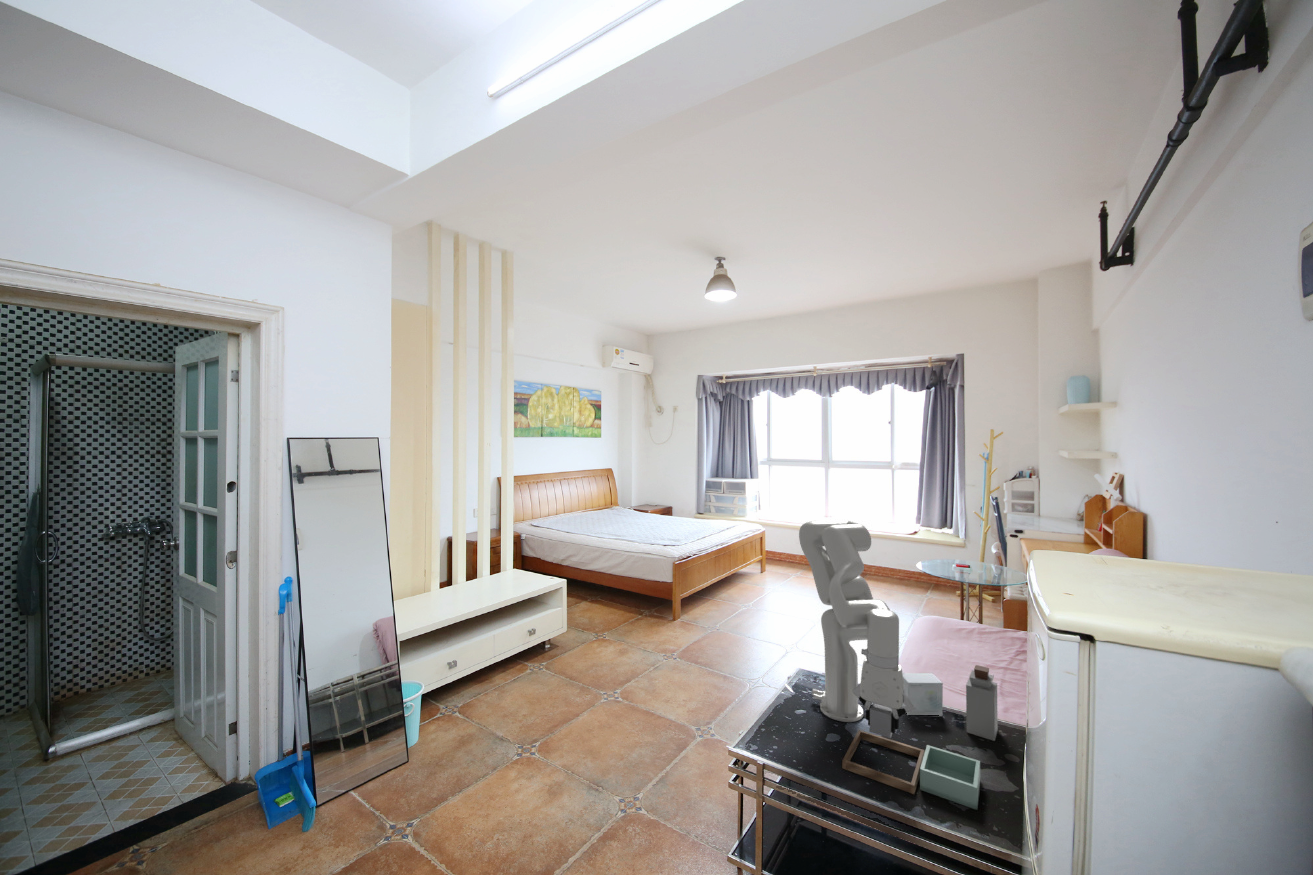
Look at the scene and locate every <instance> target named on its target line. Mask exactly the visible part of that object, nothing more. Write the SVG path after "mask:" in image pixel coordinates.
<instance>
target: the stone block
mask: <svg viewBox="0 0 1313 875" xmlns="http://www.w3.org/2000/svg"><path fill="white" fill-rule="evenodd" d="M892 716H893V713H892V709H891V708H889V707H885V706H882V705H879V704H875V703H872V706H871V708H870V726H869V733H872V734H875V735H878V736H881V737H884V738H887V739H891V738H892V735H893V733H892V732H891V721H892Z"/></svg>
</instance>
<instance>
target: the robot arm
mask: <svg viewBox="0 0 1313 875" xmlns="http://www.w3.org/2000/svg"><path fill="white" fill-rule="evenodd" d="M798 538H799V539H798V540H799V545H800V548H801V550H802V553H803V555H804V556H805V558H806V560H807V562H808V564H809V566H810V569H811V573H812V577H813V580H814V583H815V587H816V590H817V594H818V598H819V600H820V601H821V603H822V604H823V605H826V606H831V607H832V608H829V609H827V610H825V611H824V612H823V613H822V615H821V619H820V623H821V630H822V635H823V642H824V690H819V689H818V688H817V689H816V688H812V690H811V694H812V696H813V700H817V701H820V704H819V707H820V711H821V712H822V714H824V715H825V716H826V717H827V718H830V719H832V720H835V721H839V722H842V723H853V722H858V721H860V720H861V719H862V718H863V717H864V710H865V720H866V721H867V725H868V726H869V727H870V708H871V706H872V704H873V703H875V704H879V705H882V706H885V707H889V708H891V709H892V713H893V716H892V721H891V732H892V734H895V732H896V731H897V730H899V727H900V717H903V716H904V715H906V713H908V712H910V711H912V710H913V708H914V706H913V704H912V703H911V702H910V700H909V699H908V697H907V696H906V695H905V693H904V680H903V673H904V672H903V669H902V665H901V664H899V663H900V662H899V661H900V660H899V658H900V657H899V656H900V649H899V648H900V619H899V616H898V614H897V613H896V612H895V611H892V610H890V607H889V606H888V605H887V603H886V602H885V601H883V600H882V599H876V598H875V599H874V597H873V595H872V590H871V589H870V587H869V584H868V582H867V580H866V579H865V578H864V577H863V576H861V575H862V573H863V572H864V569H865V564H864V562H863V561H862V558H861V556H860V554H859V552H866V551H868V550H870V549H871V547H872V537H871V534H870V531H869V530H868V528H866V526H865V525H863V524H861V523H859V522H854V521H851V520H848V519H847V520H845V519H839V520H838V519H837V520H836V519H835V520H831V519H830V520H812V521H806V522H804V523H803V524H802V525H801V526H800V527H799V530H798ZM824 547H825V548H824ZM853 641H867V642H866V644H867V645H866V648H862V649H861V651H860V652H861V655H864V656H865V658H864V660H863V661H862V662H863V663H862V666H861V673H860V674H861V676H860V683H859V680H858V679H859V674H858V672H859V669H858V666H859V665H858V655H857V652H856V650H855V649H854V647H853V646H852V645H851V644H850V642H853ZM859 701H860V702H861V704H862V706H864V708H863V707H862V706H861V705H860V704H859ZM903 703H904V704H905V706H903V707H902V705H903Z"/></svg>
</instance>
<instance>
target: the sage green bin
mask: <svg viewBox="0 0 1313 875" xmlns="http://www.w3.org/2000/svg"><path fill="white" fill-rule="evenodd" d="M924 750H925V753H924V757H923V760H922V764H921V767H920V776H919V786H920V787H919V790H920V791H921V792H922V791H923V792H926V793H928V794H931V795H934V796H936V797H939V798H943V799H946V800H947V801H951V802H954V803H955V804H959V805H962V806H965V807H968V808H971V809H973V810H976V811H978V808H979V807H978V806H979V797H980V788H981V760H978V759H975V758H972V757H968V756H964V755H962V754H959V753H955V752H952V751H949V750H946V749H942V748H938V747H936V746H932V745H929V744H926V746H925V749H924Z"/></svg>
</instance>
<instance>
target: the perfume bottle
mask: <svg viewBox="0 0 1313 875" xmlns="http://www.w3.org/2000/svg"><path fill="white" fill-rule="evenodd" d="M989 672H990V667H986V666H982V665H978V664H975V665H974V669H973V670H971V672H970V674H969V676H968V680H967V682H966V685H965V690H966V691H965V694H966V696H965V697H966V698H965V700H966V704H965V706H966V707H965V708H966V709H965V710H966V711H965V712H966V713H965V714H966V718H965V719H966V722H965V723H966V733H968V734H970V735H971V734H972V735H974V736H978V737H981V738H984V739H987V740H991V741H994V742H995V741H996V738H997V734H998V730H999V729H998V728H999V727H998V725H999V724H998V721H999V720H998V719H999V718H998V683H997V682H995V681H994V675H993V674H989Z"/></svg>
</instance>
